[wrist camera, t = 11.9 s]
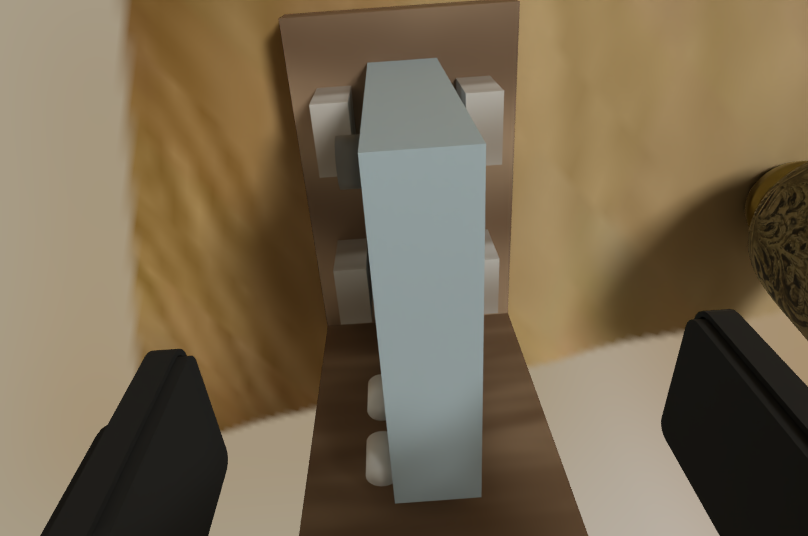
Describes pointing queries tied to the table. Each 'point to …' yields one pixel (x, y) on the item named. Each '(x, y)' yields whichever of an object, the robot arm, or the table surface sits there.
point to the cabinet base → (352, 288)
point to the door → (422, 277)
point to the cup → (781, 238)
